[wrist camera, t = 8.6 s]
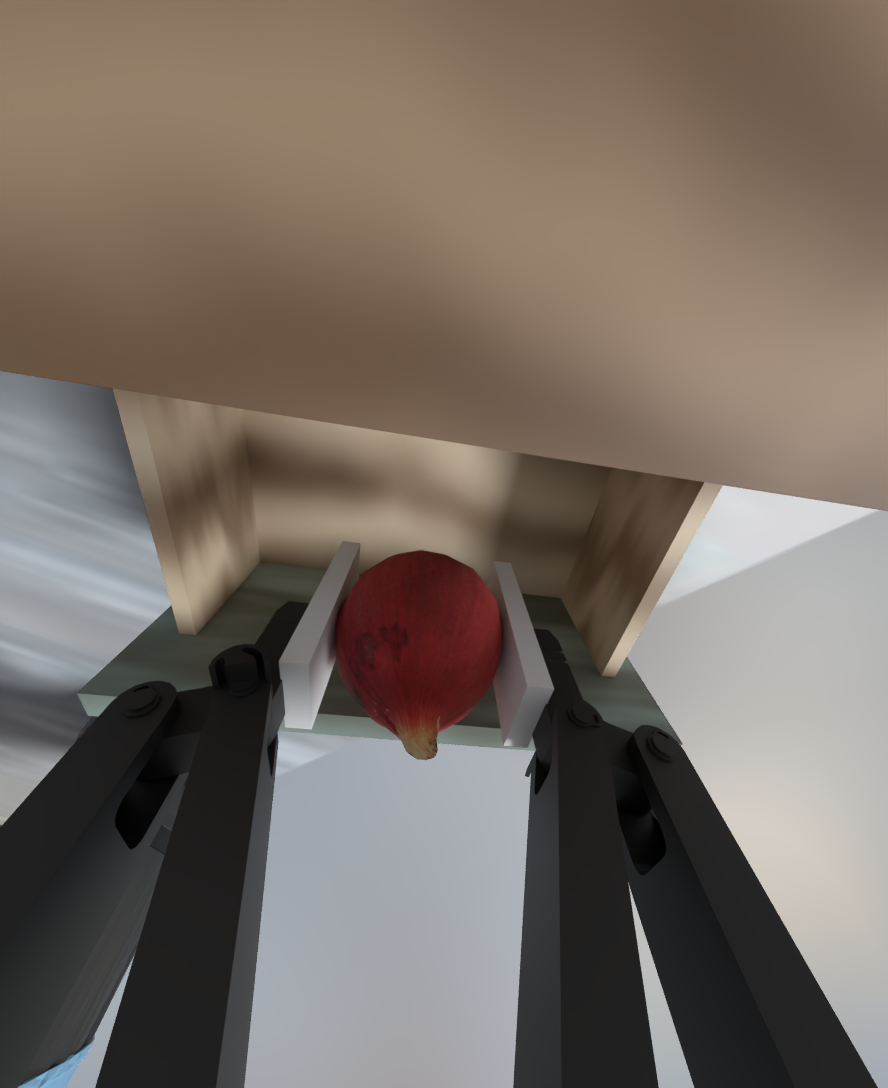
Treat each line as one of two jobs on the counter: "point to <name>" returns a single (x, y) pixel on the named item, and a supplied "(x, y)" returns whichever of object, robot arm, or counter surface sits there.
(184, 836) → the robot arm
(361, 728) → the drawer
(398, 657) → the onion
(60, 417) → the counter surface
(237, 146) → the cabinet
